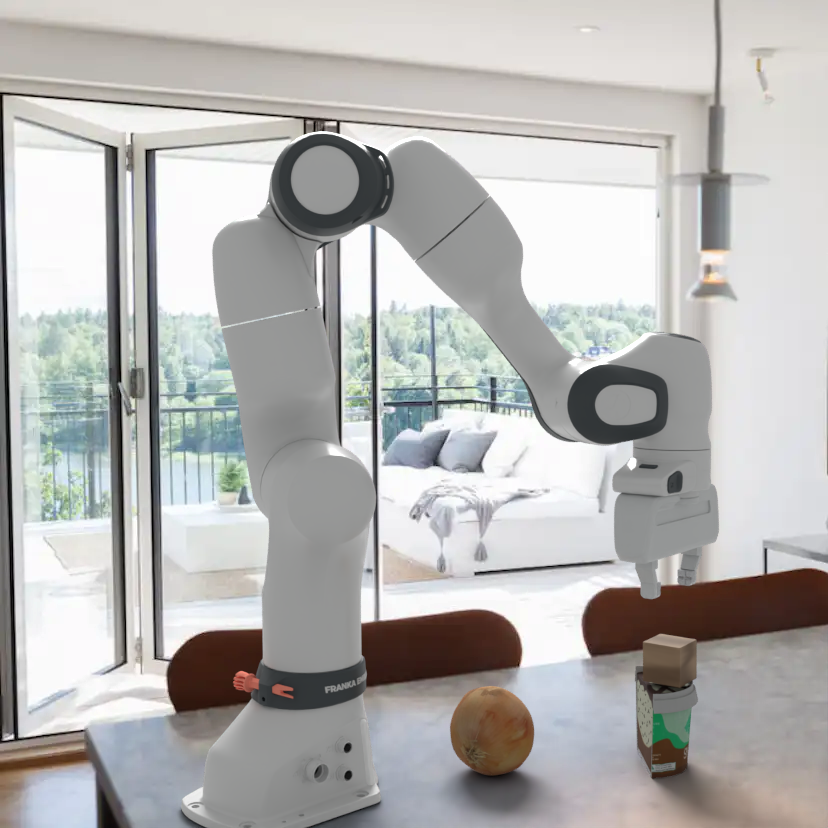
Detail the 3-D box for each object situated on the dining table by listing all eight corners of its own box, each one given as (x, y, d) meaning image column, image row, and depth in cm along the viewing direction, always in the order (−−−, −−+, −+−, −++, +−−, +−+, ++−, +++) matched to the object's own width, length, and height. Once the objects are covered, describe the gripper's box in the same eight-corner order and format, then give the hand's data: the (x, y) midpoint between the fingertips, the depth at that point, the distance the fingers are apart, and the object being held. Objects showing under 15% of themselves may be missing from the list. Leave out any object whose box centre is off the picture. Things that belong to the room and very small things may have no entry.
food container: (709, 783, 123) (709, 695, 122) (653, 783, 123) (654, 695, 122) (684, 744, 135) (685, 664, 134) (634, 744, 135) (634, 664, 135)
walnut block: (679, 687, 125) (679, 648, 125) (642, 680, 128) (642, 641, 128) (696, 678, 129) (696, 639, 128) (660, 671, 132) (660, 633, 131)
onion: (544, 762, 129) (544, 679, 129) (520, 794, 120) (520, 704, 120) (467, 752, 133) (466, 670, 133) (438, 782, 124) (437, 695, 123)
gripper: (684, 464, 137) (682, 574, 138) (604, 477, 121) (602, 601, 122) (733, 467, 133) (731, 580, 134) (656, 482, 117) (654, 610, 118)
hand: (669, 590), depth 128 cm, fingers open, 8 cm apart
